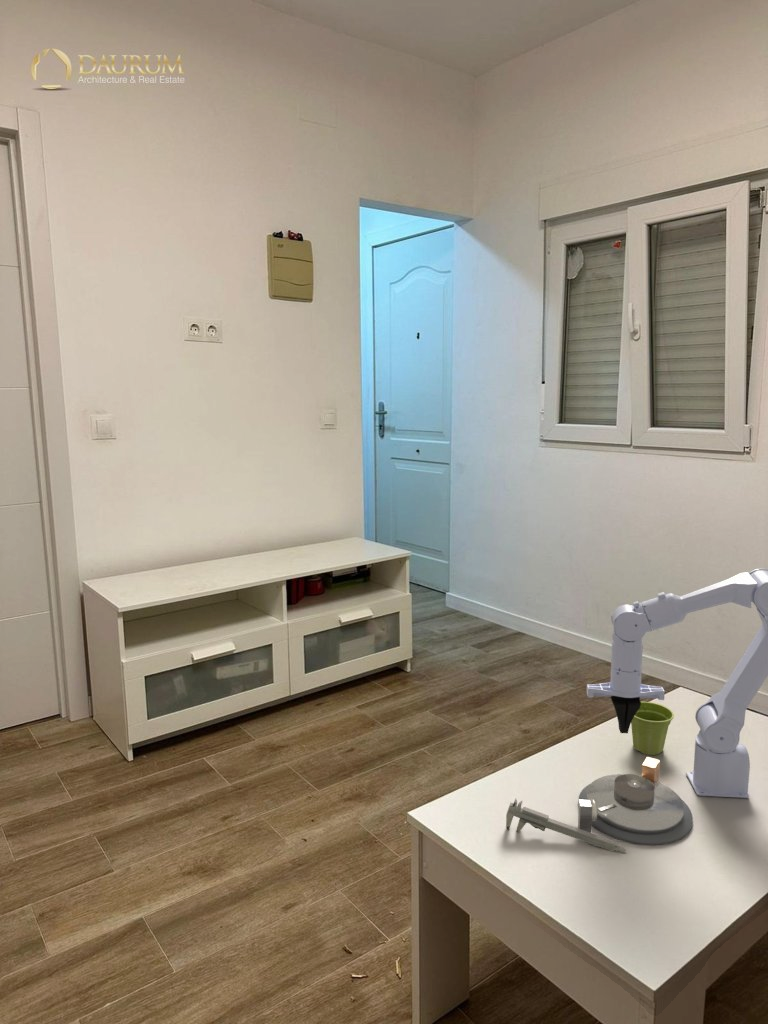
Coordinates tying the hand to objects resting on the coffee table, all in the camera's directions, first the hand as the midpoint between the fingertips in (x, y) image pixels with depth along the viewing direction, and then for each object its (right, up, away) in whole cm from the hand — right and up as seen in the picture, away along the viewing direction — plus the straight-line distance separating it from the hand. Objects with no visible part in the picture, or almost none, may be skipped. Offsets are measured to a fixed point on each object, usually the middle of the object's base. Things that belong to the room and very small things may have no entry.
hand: (623, 730), depth 145 cm
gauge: (-12, -13, -15) cm, 24 cm away
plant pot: (+10, -8, +13) cm, 18 cm away
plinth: (-1, -12, -10) cm, 16 cm away
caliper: (-16, -14, -18) cm, 28 cm away
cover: (-2, -10, -10) cm, 14 cm away
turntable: (0, -11, -10) cm, 14 cm away
